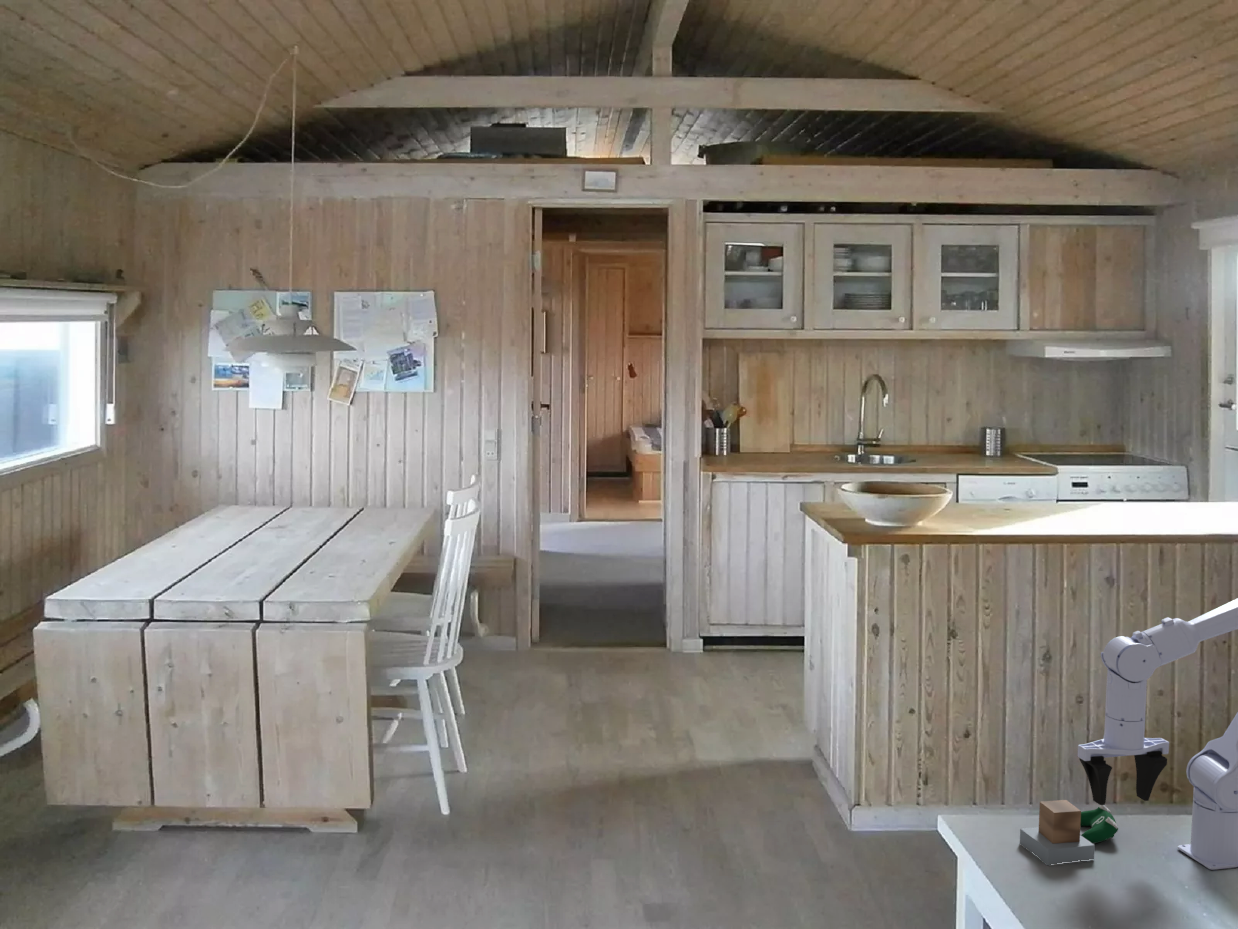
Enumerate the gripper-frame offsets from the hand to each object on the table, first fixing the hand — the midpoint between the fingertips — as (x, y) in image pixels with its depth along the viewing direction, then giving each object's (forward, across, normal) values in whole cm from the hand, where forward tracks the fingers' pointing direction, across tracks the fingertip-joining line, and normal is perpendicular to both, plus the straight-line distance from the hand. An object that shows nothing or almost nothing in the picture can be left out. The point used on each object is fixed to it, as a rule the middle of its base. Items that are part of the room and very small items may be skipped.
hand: (1120, 800), depth 187 cm
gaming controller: (+10, -2, -9) cm, 13 cm away
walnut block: (+7, +8, -4) cm, 11 cm away
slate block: (+10, +8, -4) cm, 13 cm away
